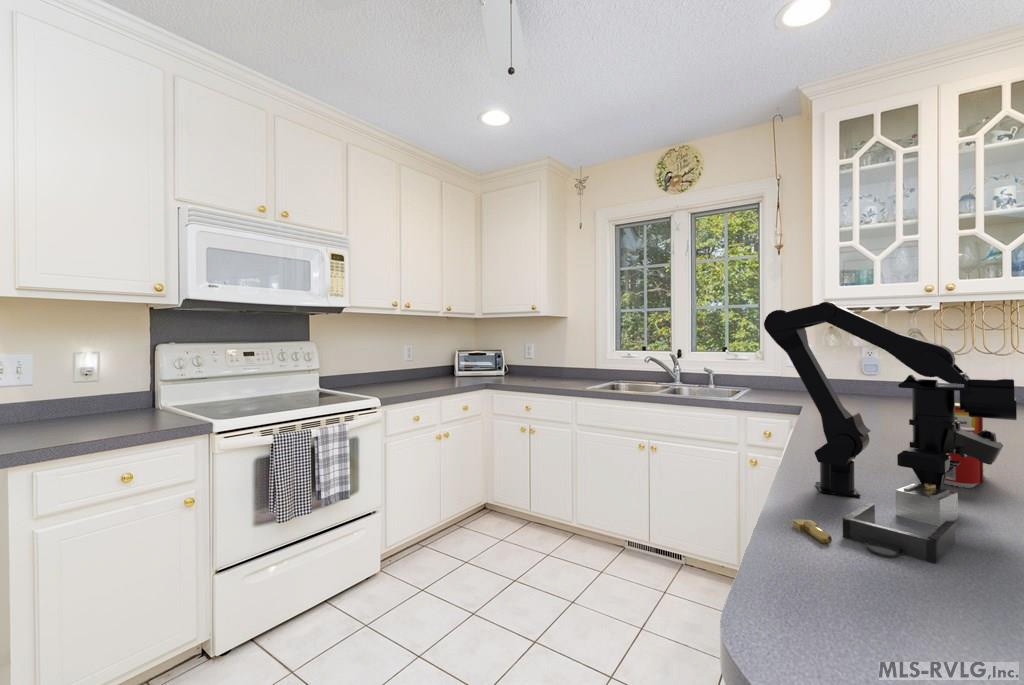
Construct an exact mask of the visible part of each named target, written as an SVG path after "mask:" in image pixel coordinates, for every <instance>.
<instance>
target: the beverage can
mask: <svg viewBox="0 0 1024 685" xmlns="http://www.w3.org/2000/svg"><path fill="white" fill-rule="evenodd" d="M960 429H961V430H964V431H967V432H973V433H974V434H977V433H976V432H975V431H974V430H975V429H974V428H972V427H967V426H960ZM948 455H950V460H951V461H957V462H960V464H959V465H958V466H956V467H955V468H954V469H953V470H951V471H949V472H948V473H947V476H946V479H945V482H944V485H945V484H946V485H948V486H951V485H953V486H952V487H956V486H958V487H957V488H963V487H964V489H965V488H966V489H967V488H969V489H972V488H975V486H977V485H979V484H980V483H981V482H980V469H979V460H978V459H976V458H973V457H971V456H968V455H967V456H966V457H961V456H960V454H956V453H954V454H951V453H950V454H948Z"/></svg>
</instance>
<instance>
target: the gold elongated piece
mask: <svg viewBox="0 0 1024 685" xmlns="http://www.w3.org/2000/svg"><path fill="white" fill-rule="evenodd" d="M792 527H793V528H794V529H796V531H798V532H800V533H801V532H802V533H805V532H806V533H808V534H809V535H811V536H812V537H814V538H815V539H816V540H817V541H819V542H820V543H822V544H823V545H825V546H826V545H827V546H828V545H830V544H831V543H832V541H833V540H832V539H833V538H832V536H831V535H830V534H828V533H827V532H825V531H824V530H822V529H821V528H819V527H818V523H816V522H815V521H813V520H811V519H792Z"/></svg>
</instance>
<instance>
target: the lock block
mask: <svg viewBox="0 0 1024 685" xmlns="http://www.w3.org/2000/svg"><path fill="white" fill-rule="evenodd" d="M958 496H959V494H958V491H957V492H956V491H951V490H950V489H948V488H943V489H938V488H936V486H935V484H932V483H925V486H924V485H923V484H921V483H911V484H909V485H906V486H903V487H900V488H897V489H895V516H898V517H902V518H905V519H909V520H912V521H916V522H920V523H924V524H927V525H931V526H934V527H938V528H939V527H940V526H941V525H942V524H943V523H944V522H945V521H946V520H947V521H951V522H955V520H958V516H959V512H958V510H959V509H958V508H959V507H958V506H959V505H958V503H959V502H958V501H959V500H958V498H959V497H958Z"/></svg>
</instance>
